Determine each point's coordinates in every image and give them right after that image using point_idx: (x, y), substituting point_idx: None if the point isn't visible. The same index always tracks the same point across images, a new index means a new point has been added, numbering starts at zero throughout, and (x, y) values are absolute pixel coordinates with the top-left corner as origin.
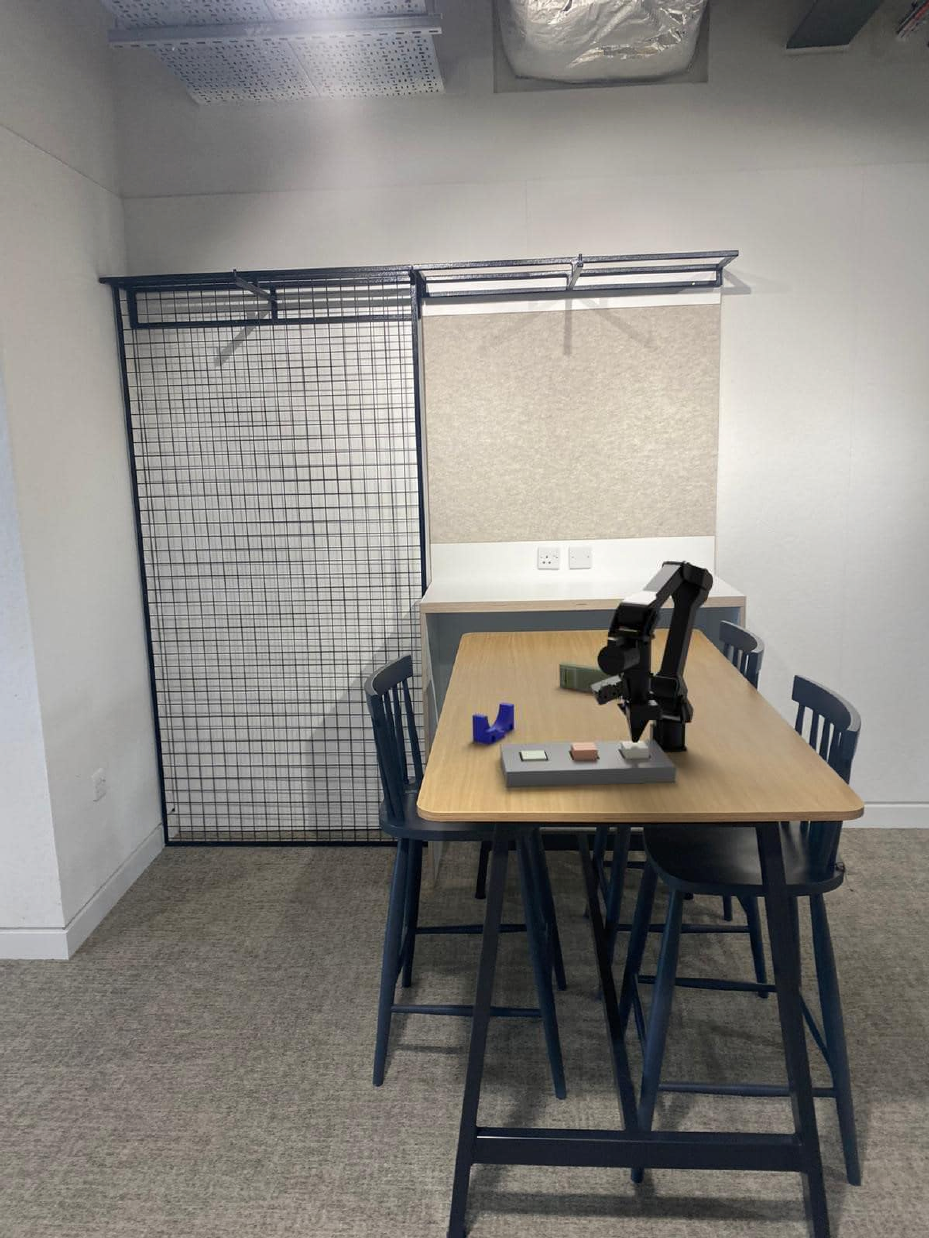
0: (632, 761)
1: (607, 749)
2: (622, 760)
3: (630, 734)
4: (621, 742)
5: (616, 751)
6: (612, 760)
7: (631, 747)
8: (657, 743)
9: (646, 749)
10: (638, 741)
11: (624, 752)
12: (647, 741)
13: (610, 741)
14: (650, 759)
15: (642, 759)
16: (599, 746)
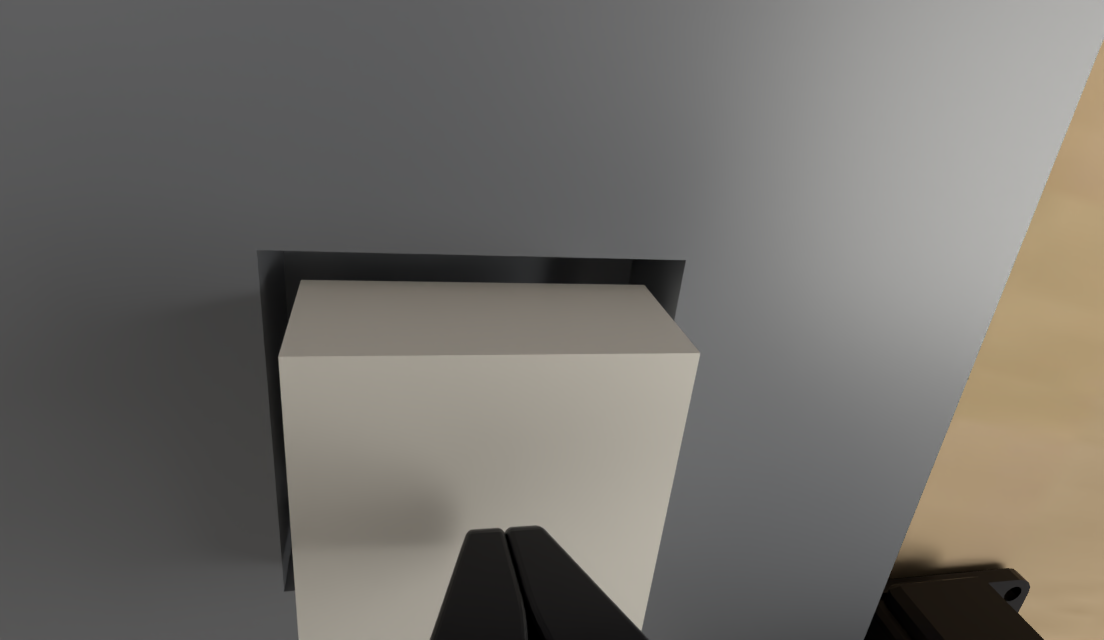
0: (112, 350)
1: (725, 98)
2: (152, 207)
3: (553, 606)
4: (649, 352)
5: (608, 216)
6: (142, 22)
7: (355, 460)
8: (884, 633)
9: (299, 632)
10: (631, 583)
11: (387, 310)
12: (832, 610)
13: (1006, 232)
14: (217, 575)
15: (217, 490)
16: (894, 3)
